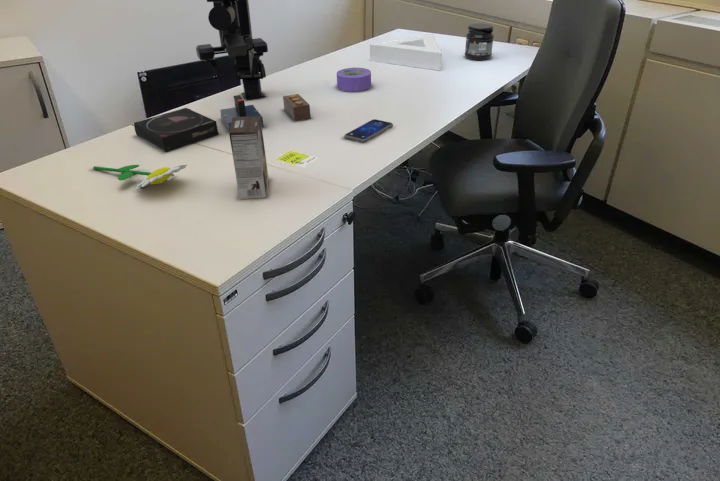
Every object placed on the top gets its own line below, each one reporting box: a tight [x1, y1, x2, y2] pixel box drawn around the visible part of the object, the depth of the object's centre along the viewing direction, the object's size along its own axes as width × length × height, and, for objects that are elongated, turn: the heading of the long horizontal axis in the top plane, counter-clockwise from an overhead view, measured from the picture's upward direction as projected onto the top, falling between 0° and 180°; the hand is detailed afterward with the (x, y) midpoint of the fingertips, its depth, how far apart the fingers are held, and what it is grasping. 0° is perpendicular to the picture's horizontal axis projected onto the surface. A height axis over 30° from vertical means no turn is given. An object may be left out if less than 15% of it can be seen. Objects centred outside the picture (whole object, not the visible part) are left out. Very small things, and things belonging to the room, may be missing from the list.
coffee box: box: [228, 116, 270, 200], centre depth 124 cm, size 9×6×16 cm
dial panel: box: [219, 104, 265, 132], centre depth 163 cm, size 12×10×3 cm
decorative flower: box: [93, 164, 188, 192], centre depth 132 cm, size 13×5×30 cm
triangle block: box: [369, 33, 442, 72], centre depth 215 cm, size 30×26×6 cm
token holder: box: [282, 93, 311, 122], centre depth 168 cm, size 11×5×5 cm, turn 23°
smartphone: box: [344, 118, 394, 143], centre depth 155 cm, size 7×1×15 cm
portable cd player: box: [133, 107, 219, 153], centre depth 156 cm, size 16×17×4 cm
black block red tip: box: [233, 94, 246, 117], centre depth 160 cm, size 6×2×5 cm, turn 23°
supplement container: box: [464, 22, 495, 62], centre depth 215 cm, size 10×10×12 cm
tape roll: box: [336, 67, 372, 93], centre depth 189 cm, size 12×12×5 cm
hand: (236, 79), depth 156 cm, fingers open, 9 cm apart
